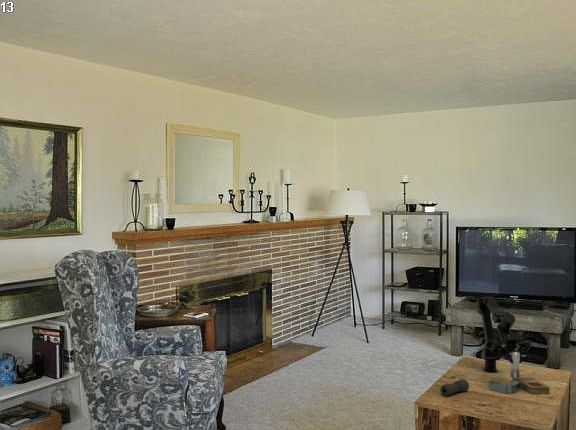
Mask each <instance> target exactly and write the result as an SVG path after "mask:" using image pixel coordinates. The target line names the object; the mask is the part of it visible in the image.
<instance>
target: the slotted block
mask: <svg viewBox="0 0 576 430" xmlns="http://www.w3.org/2000/svg"><path fill="white" fill-rule="evenodd" d="M512 381H519V382H520V389H523V390H524V389H525V390H524V391H526V392H528V393H529V394H530V395H541V394H543V395H546V394H547V395H548V394H550V387H549V385H546V384H545V383H543V382H541V381H540V380H538V379H536V378H535V377H533V376H531V375H530V374H521V375H520V374H519V378H513V377H511V382H512Z"/></svg>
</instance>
